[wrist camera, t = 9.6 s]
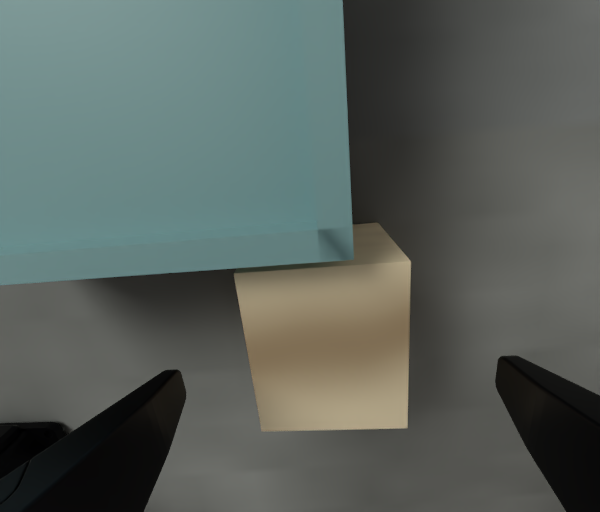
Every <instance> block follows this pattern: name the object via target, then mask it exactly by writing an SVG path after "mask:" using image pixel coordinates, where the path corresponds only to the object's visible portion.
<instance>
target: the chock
mask: <svg viewBox="0 0 600 512" xmlns="http://www.w3.org/2000/svg"><path fill="white" fill-rule="evenodd" d="M352 227H353V249H354V260H345V261H331V262H317V263H303V264H289V265H275V266H261V267H247V268H237V269H236V271H235V272H234V279H235V285H236V290H237V296H238V302H239V307H240V313H241V318H242V324H243V330H244V335H245V341H246V346H247V352H248V357H249V363H250V369H251V374H252V380H253V385H254V391H255V396H256V402H257V408H258V413H259V419H260V424H261V430H262V431H306V430H352V429H398V428H407V426H408V378H409V330H410V282H411V261H410V260H409V258H408V257H407V256H406V255H405V254H404V253H403V251H402V250H401V249H400V248H399V247H398V246H397V244H396V243H395V242H394V241H393V240H392V239H391V237H390V236H389V235H388V234H387V233H386V232H385V230H384V229H383V228H382V227H381V226H380V225H379V223H367V224H355V225H352Z"/></svg>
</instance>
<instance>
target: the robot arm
mask: <svg viewBox="0 0 600 512" xmlns="http://www.w3.org/2000/svg"><path fill="white" fill-rule="evenodd" d="M495 383H496V388H497V390H498V393H499V395H500V397H501V398H502V400H503V402H504V404H505V406H506V408H507V410H508V412H509V414H510V416H511V418H512V420H513V422H514V424H515V426H516V428H517V430H518V432H519V434H520V436H521V438H522V440H523V442H524V444H525V446H526V447H527V449H528V451H529V452H530V454H531V456H532V458H533V459H534V461H535V462H536V464H537V466H538V467H539V469H540V470H541V472H542V473H543V475H544V477H545V478H546V480H547V481H548V483H549V485H550V486H551V488H552V489H553V491H554V493H555V494H556V496H557V497H558V499H559V501H560V502H561V504H562V505H563V507H564V509H565V510H566V512H600V396H599V395H597V394H595V393H593V392H591V391H589V390H587V389H585V388H583V387H581V386H579V385H577V384H575V383H573V382H570V381H568V380H566V379H564V378H562V377H560V376H558V375H556V374H554V373H552V372H550V371H548V370H546V369H544V368H542V367H539V366H537V365H535V364H533V363H531V362H529V361H527V360H525V359H523V358H521V357H519V356H501V357H500V358H499V359H498V364H497V372H496V379H495ZM185 400H186V389H185V386H184V382H183V378H182V375H181V372H180V371H179V370H165V371H163V372H161V373H160V374H158V375H157V376H155V377H154V378H152V379H151V380H149V381H148V382H146V383H145V384H143V385H142V386H140V387H139V388H137V389H136V390H134V391H133V392H131V393H130V394H128V395H127V396H125V397H124V398H122V399H121V400H119V401H118V402H116V403H115V404H113V405H112V406H110V407H109V408H107V409H106V410H104V411H103V412H101V413H100V414H98V415H97V416H95V417H94V418H92V419H91V420H89V421H88V422H86V423H85V424H83V425H82V426H80V427H79V428H77V429H76V430H74V431H73V432H71V433H69V434H68V435H66V436H65V434H64V432H63V430H62V428H61V426H60V425H58V424H57V423H54V422H37V423H1V424H0V512H144V509H145V507H146V505H147V502H148V500H149V498H150V495H151V493H152V491H153V488H154V486H155V484H156V481H157V479H158V477H159V474H160V472H161V470H162V467H163V465H164V463H165V460H166V458H167V455H168V453H169V450H170V447H171V444H172V441H173V438H174V435H175V432H176V428H177V425H178V422H179V419H180V416H181V413H182V410H183V407H184V404H185Z"/></svg>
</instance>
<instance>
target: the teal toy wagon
mask: <svg viewBox="0 0 600 512" xmlns="http://www.w3.org/2000/svg"><path fill="white" fill-rule="evenodd" d="M345 260H354V249H353V227H352V204H351V181H350V158H349V135H348V112H347V89H346V66H345V43H344V20H343V0H0V285H10V284H24V283H38V282H52V281H66V280H80V279H94V278H108V277H122V276H136V275H150V274H164V273H178V272H192V271H205V270H219V269H233V268H247V267H261V266H275V265H289V264H303V263H317V262H331V261H345Z"/></svg>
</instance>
